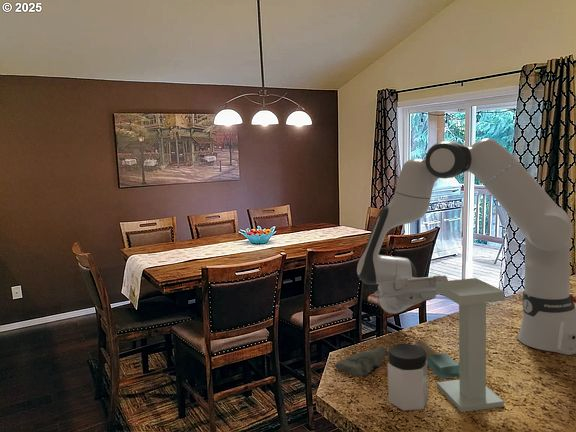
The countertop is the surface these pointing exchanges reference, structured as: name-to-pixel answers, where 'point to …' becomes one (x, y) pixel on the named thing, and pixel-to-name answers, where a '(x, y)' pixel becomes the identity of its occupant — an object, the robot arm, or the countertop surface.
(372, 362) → the stone
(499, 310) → the countertop surface
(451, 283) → the shelf stand
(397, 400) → the jar
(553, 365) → the countertop surface
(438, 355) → the mallet
